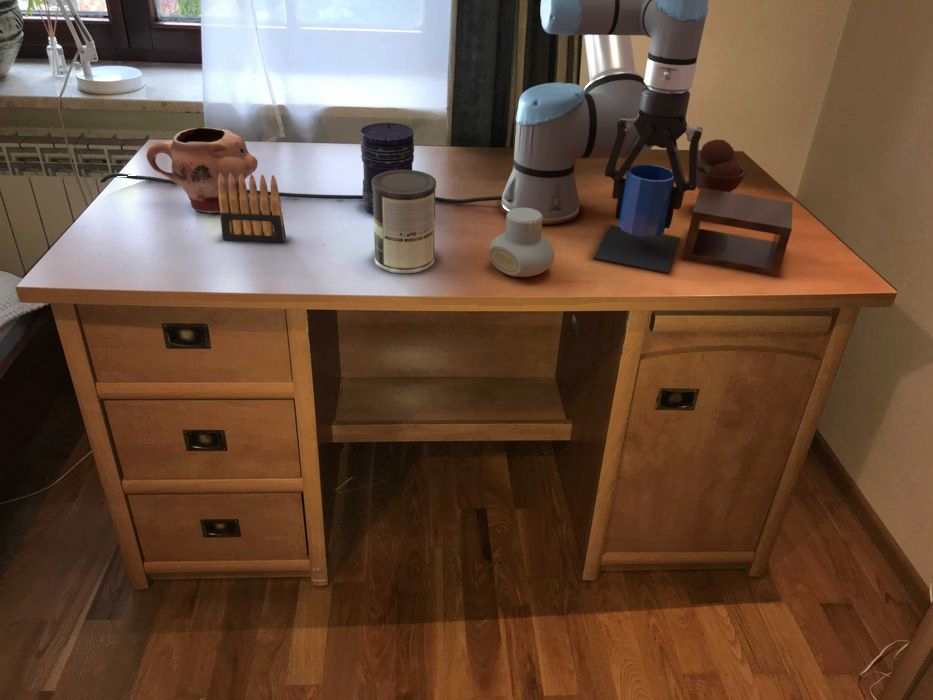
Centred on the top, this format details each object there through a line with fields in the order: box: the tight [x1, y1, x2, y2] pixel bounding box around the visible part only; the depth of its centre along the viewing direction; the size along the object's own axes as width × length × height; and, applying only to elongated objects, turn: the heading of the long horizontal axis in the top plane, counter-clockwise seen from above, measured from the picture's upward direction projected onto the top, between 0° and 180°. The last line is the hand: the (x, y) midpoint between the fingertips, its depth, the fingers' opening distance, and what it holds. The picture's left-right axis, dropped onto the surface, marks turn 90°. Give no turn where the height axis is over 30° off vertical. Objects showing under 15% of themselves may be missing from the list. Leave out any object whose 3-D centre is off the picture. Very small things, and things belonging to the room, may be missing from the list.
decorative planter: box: [146, 127, 259, 213], centre depth 141 cm, size 20×12×14 cm, turn 95°
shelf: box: [681, 188, 794, 278], centre depth 134 cm, size 16×12×9 cm
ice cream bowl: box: [687, 138, 748, 193], centre depth 147 cm, size 11×11×15 cm
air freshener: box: [488, 208, 555, 278], centre depth 125 cm, size 11×8×10 cm
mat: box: [592, 224, 681, 275], centre depth 136 cm, size 13×15×1 cm
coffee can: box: [372, 169, 437, 274], centre depth 125 cm, size 10×10×14 cm
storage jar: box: [360, 122, 415, 216], centre depth 143 cm, size 10×10×15 cm
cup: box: [617, 163, 675, 237], centre depth 131 cm, size 8×8×10 cm
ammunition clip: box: [218, 173, 287, 244], centre depth 130 cm, size 11×2×12 cm, turn 89°
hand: (642, 220), depth 133 cm, fingers closed on cup, 8 cm apart
